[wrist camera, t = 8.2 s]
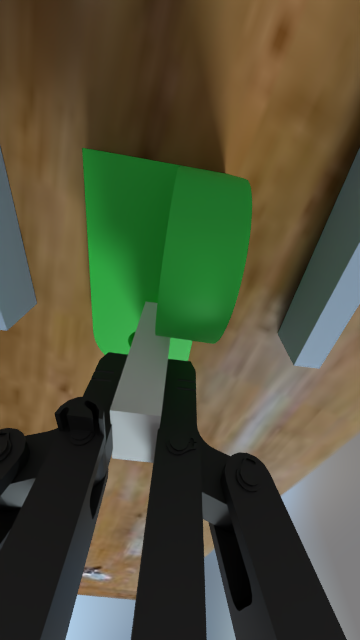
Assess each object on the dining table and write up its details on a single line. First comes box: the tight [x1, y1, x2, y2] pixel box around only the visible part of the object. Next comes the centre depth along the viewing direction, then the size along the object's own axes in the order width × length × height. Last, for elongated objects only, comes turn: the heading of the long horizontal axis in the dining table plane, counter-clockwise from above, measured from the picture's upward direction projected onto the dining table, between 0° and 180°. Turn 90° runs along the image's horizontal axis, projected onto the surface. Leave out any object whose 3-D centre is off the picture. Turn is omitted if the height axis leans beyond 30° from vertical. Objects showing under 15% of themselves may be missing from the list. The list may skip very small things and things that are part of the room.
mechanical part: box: [82, 148, 252, 361], centre depth 11 cm, size 12×6×8 cm, turn 171°
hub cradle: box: [0, 147, 360, 368], centre depth 10 cm, size 19×18×3 cm
